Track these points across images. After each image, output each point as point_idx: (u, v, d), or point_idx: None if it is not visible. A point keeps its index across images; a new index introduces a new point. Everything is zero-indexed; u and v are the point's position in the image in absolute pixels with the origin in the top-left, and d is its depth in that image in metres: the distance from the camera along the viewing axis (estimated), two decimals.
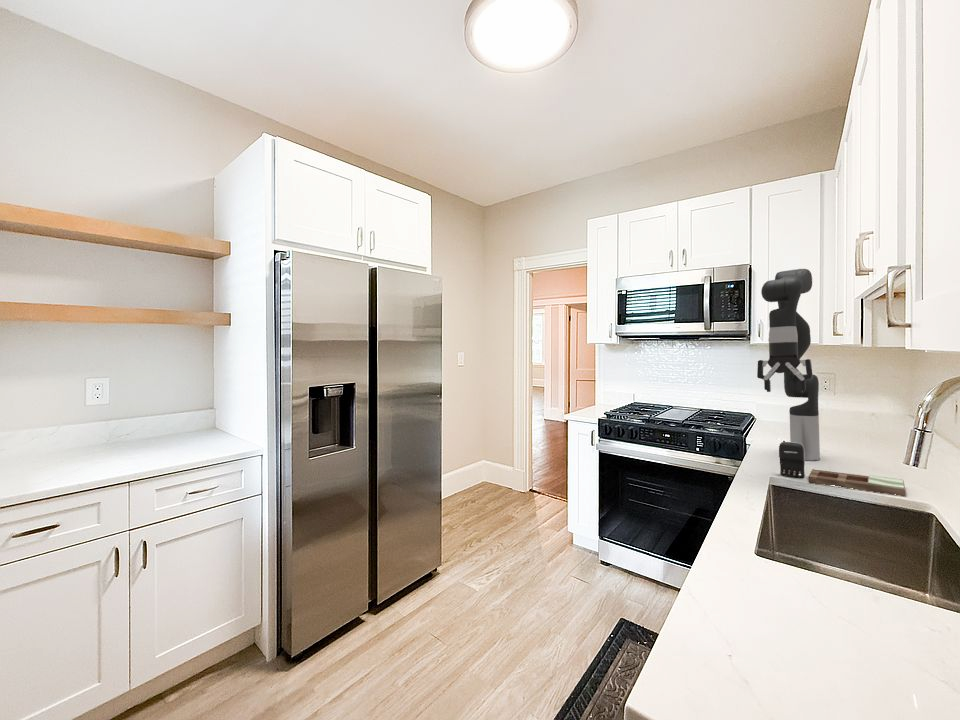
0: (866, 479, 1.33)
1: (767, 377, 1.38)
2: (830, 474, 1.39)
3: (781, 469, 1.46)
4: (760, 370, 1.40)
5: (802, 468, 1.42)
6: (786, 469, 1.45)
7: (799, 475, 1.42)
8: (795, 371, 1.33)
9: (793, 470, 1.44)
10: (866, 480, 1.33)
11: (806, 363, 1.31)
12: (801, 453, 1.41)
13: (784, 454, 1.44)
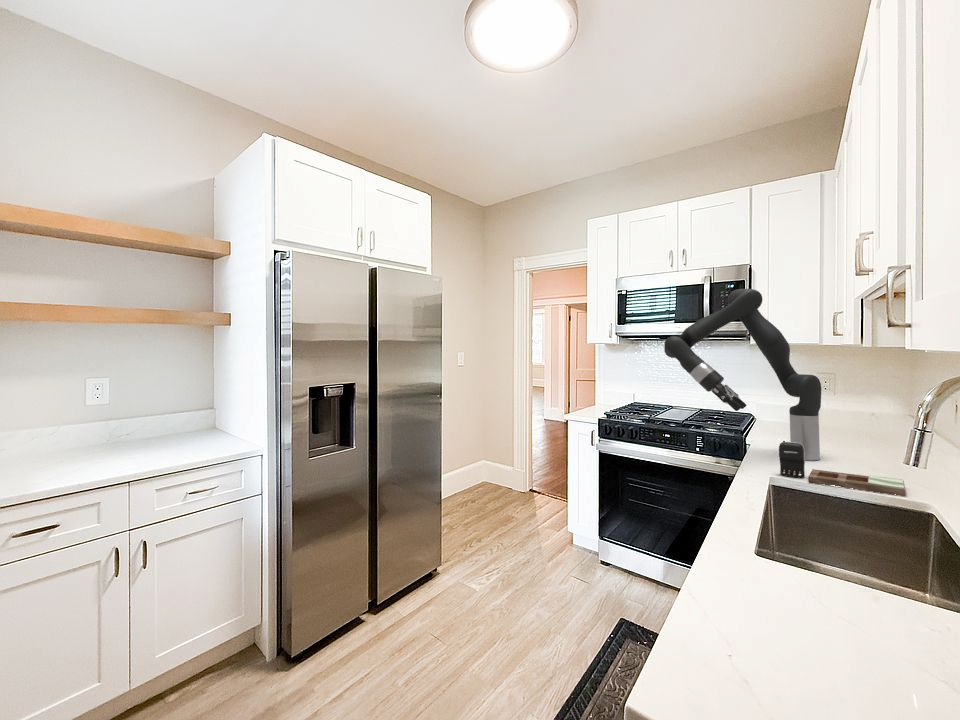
0: (866, 479, 1.33)
1: None
2: (830, 474, 1.39)
3: (781, 469, 1.46)
4: None
5: (802, 468, 1.42)
6: (786, 469, 1.45)
7: (799, 475, 1.42)
8: None
9: (793, 470, 1.44)
10: (866, 480, 1.33)
11: None
12: (801, 453, 1.41)
13: (784, 454, 1.44)
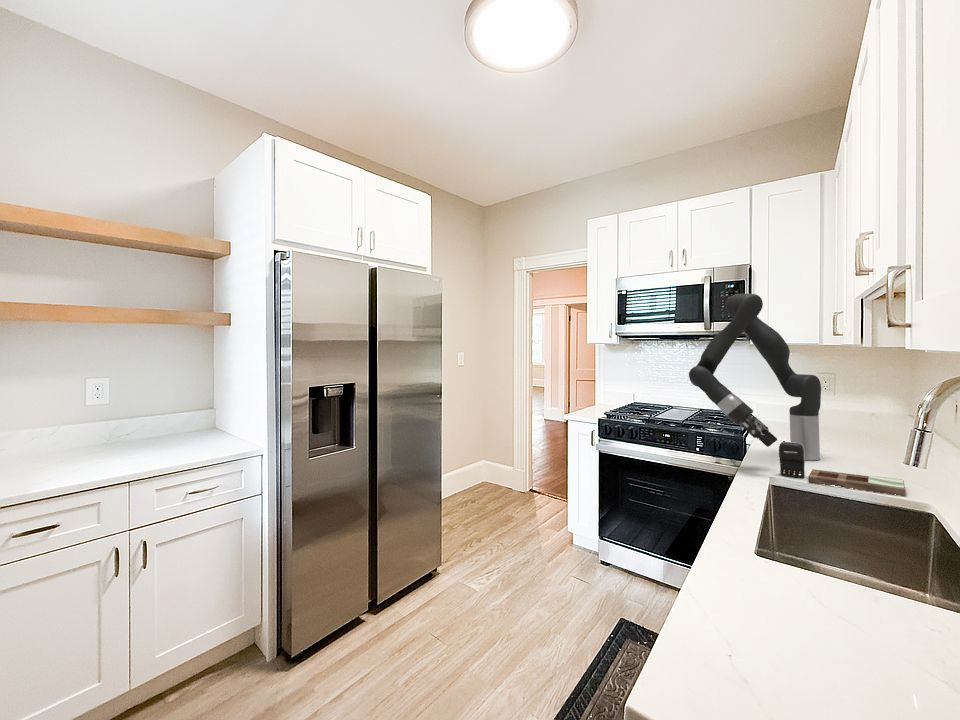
0: (866, 479, 1.33)
1: None
2: (830, 474, 1.39)
3: (781, 469, 1.46)
4: None
5: (802, 468, 1.42)
6: (786, 469, 1.45)
7: (799, 475, 1.42)
8: None
9: (793, 470, 1.44)
10: (866, 480, 1.33)
11: (744, 427, 1.48)
12: (801, 453, 1.41)
13: (784, 454, 1.44)
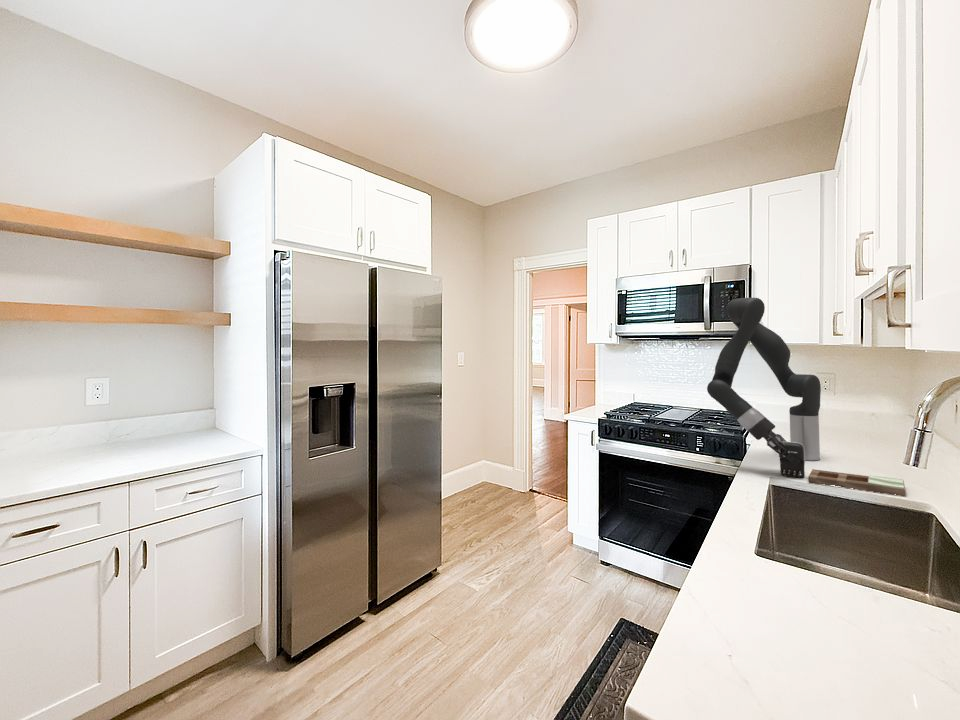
0: (866, 479, 1.33)
1: None
2: (830, 474, 1.39)
3: (781, 469, 1.46)
4: None
5: (802, 468, 1.42)
6: (786, 469, 1.45)
7: (799, 475, 1.42)
8: None
9: (793, 470, 1.44)
10: (866, 480, 1.33)
11: None
12: (801, 453, 1.41)
13: None
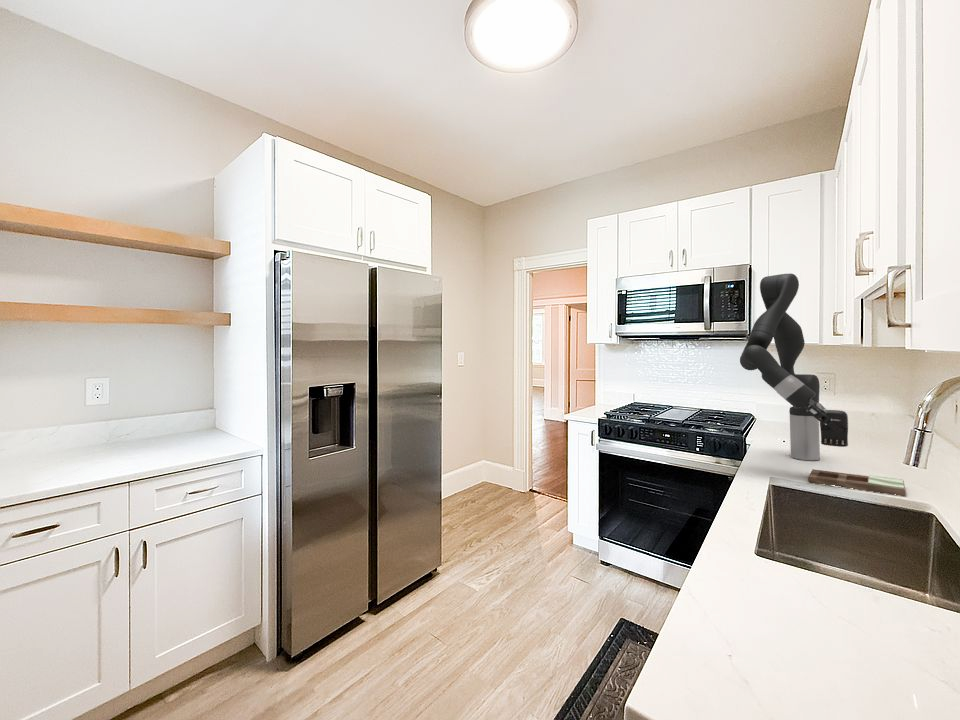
0: (866, 479, 1.33)
1: None
2: (830, 474, 1.39)
3: (822, 438, 1.38)
4: None
5: (845, 437, 1.34)
6: (828, 438, 1.37)
7: (842, 444, 1.34)
8: None
9: (835, 439, 1.36)
10: (866, 480, 1.33)
11: (810, 413, 1.36)
12: (845, 420, 1.33)
13: None
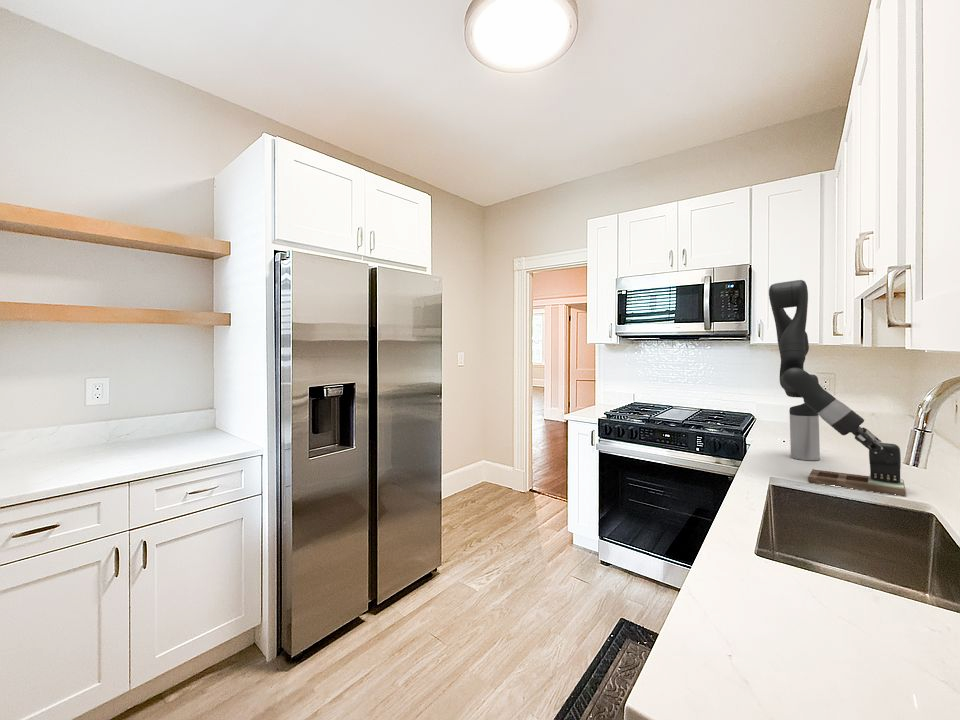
0: (866, 479, 1.33)
1: None
2: (830, 474, 1.39)
3: (872, 473, 1.30)
4: None
5: (898, 472, 1.26)
6: (878, 473, 1.29)
7: (895, 480, 1.26)
8: None
9: (887, 474, 1.28)
10: (866, 480, 1.33)
11: (858, 440, 1.28)
12: (898, 455, 1.25)
13: (876, 456, 1.28)
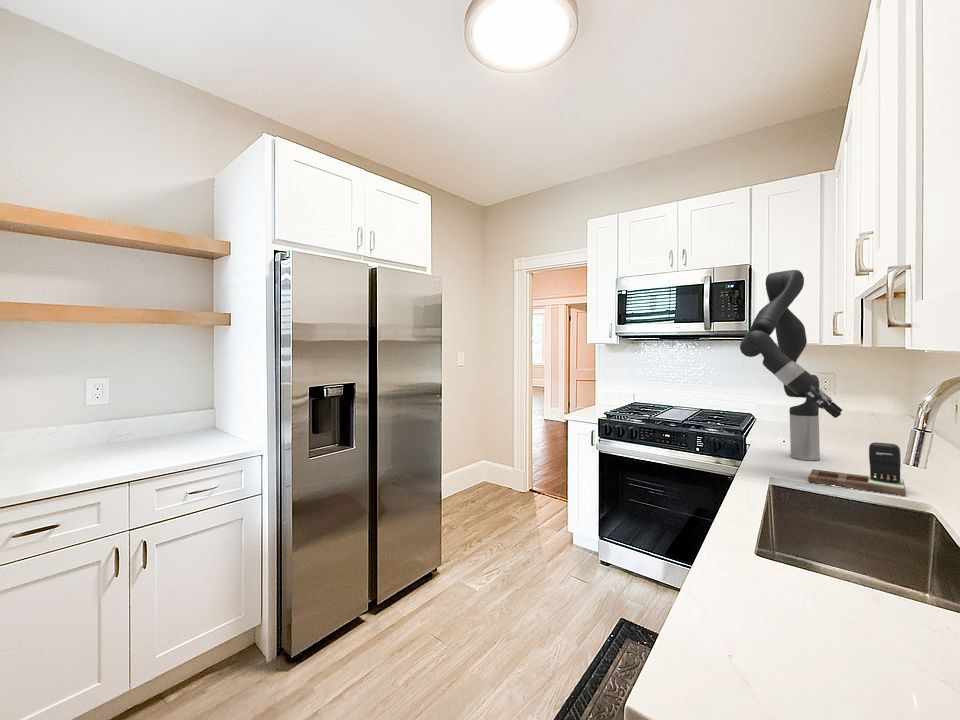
0: (866, 479, 1.33)
1: None
2: (830, 474, 1.39)
3: (872, 473, 1.30)
4: None
5: (898, 472, 1.26)
6: (878, 473, 1.29)
7: (895, 480, 1.26)
8: None
9: (887, 474, 1.28)
10: (866, 480, 1.33)
11: (808, 397, 1.36)
12: (897, 455, 1.25)
13: (876, 456, 1.28)
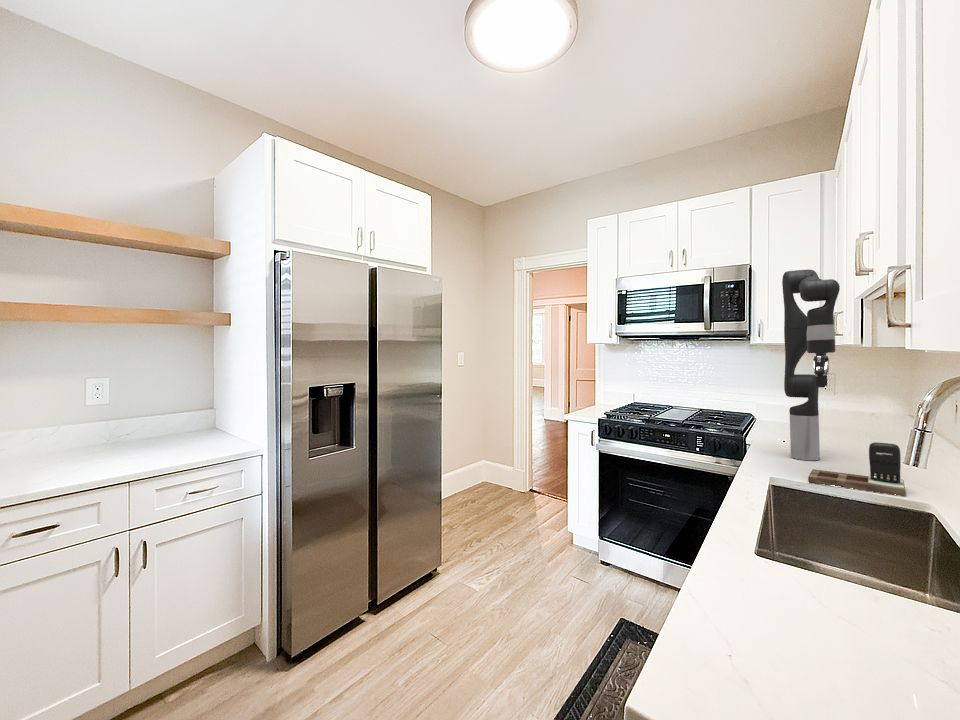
0: (866, 479, 1.33)
1: None
2: (830, 474, 1.39)
3: (872, 473, 1.30)
4: None
5: (898, 472, 1.26)
6: (878, 473, 1.29)
7: (895, 480, 1.26)
8: (814, 367, 1.43)
9: (887, 474, 1.28)
10: (866, 480, 1.33)
11: (814, 360, 1.41)
12: (897, 455, 1.25)
13: (876, 456, 1.28)
